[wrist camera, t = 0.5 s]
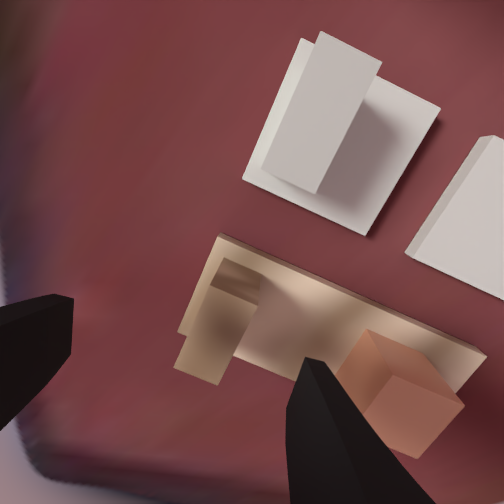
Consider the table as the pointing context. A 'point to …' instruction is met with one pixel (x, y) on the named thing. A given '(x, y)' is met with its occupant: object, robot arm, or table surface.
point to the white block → (376, 160)
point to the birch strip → (295, 320)
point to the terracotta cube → (398, 393)
